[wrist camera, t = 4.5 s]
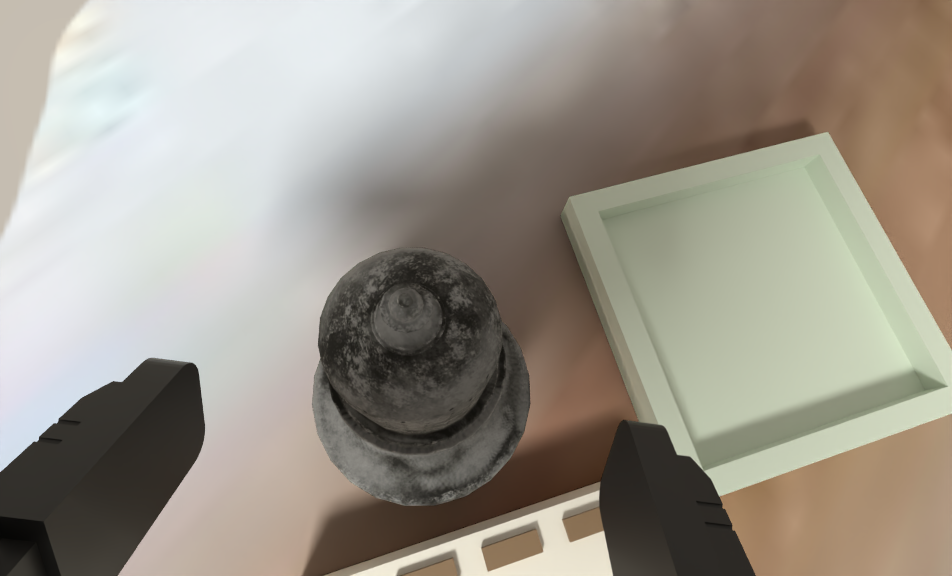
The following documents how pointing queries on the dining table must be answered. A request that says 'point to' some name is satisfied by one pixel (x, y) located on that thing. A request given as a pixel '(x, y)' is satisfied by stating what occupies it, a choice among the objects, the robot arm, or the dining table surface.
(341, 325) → the grey stone rounded piece
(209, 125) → the dining table surface
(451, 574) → the board
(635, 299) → the tray
